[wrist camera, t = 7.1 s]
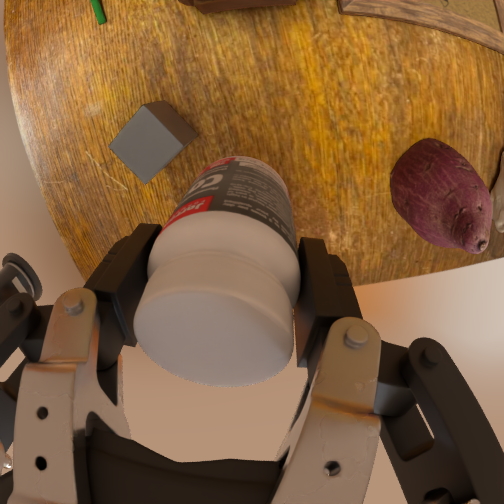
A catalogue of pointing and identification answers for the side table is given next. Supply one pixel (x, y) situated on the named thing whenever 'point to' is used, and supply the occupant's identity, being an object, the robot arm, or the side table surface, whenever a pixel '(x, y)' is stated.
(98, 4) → the decorative flower
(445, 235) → the vegetable
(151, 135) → the grey block
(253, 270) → the pill bottle
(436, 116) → the side table surface
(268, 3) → the wooden toy train
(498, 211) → the decorative stone
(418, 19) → the picture frame
